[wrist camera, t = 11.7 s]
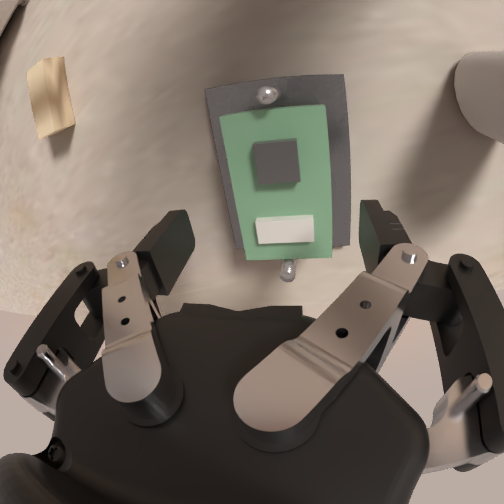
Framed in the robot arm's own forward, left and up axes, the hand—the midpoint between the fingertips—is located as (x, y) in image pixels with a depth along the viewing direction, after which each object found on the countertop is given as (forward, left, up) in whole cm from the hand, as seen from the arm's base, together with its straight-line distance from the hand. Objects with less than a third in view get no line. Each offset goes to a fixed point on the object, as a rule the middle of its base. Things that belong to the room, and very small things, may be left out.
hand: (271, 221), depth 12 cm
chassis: (0, 0, -10) cm, 10 cm away
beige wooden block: (-12, -21, -10) cm, 26 cm away
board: (0, 0, -6) cm, 6 cm away
